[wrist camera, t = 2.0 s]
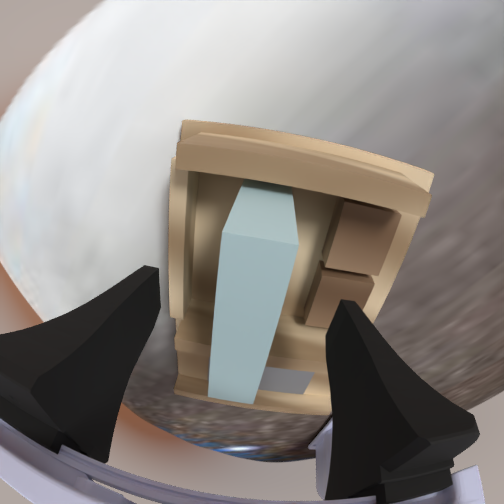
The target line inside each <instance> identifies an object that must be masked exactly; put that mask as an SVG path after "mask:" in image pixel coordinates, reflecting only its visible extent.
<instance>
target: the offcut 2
mask: <svg viewBox="0 0 504 504" xmlns="http://www.w3.org/2000/svg"><path fill="white" fill-rule="evenodd" d="M374 285H375V283H374V281H373V278H372V276H371V275H368V274H362V273H356V272H350V271H344V270H339V269H333V268H327V267H325V265H324V261H322V260H319V262H318V265H317V269H316V272H315V275H314V278H313V281H312V285H311V288H310V291H309V294H308V297H307V300H306V303H305V306H304V318H305V325H308V326H316V327H324V328H329V326H330V324H331V321H332V319H333V317H334V314H335V312H336V310H337V307H338V305H339V302H340V300H341V299H344V300H351V301H355V302H356V303H357V304H358V305H359V307H360V308H361V309H362V310H363V309H364V307H365V305H366V303H367V301H368V298H369V296H370V294H371V292H372V290H373V287H374Z"/></svg>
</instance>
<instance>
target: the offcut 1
mask: <svg viewBox="0 0 504 504" xmlns="http://www.w3.org/2000/svg"><path fill="white" fill-rule="evenodd" d="M401 216H402V215H401V214H400V213H399V212H398V211H397V210H394V209H390V208H386V207H382V206H378V205H374V204H370V203H366V202H362V201H358V200H353V199H349V198H345V197H340V196H337V199H336V203H335V207H334V210H333V214H332V218H331V221H330V225H329V228H328V232H327V235H326V239H325V242H324V246H323V249H322V256H323V261H324V265H325V267H327V268H333V269H339V270H344V271H350V272H356V273H362V274H368V275H374V276H379V273H380V271H381V269H382V266H383V264H384V261H385V259H386V256H387V254H388V251H389V249H390V246H391V244H392V241H393V238H394V236H395V233H396V230H397V227H398V225H399V222H400V219H401Z"/></svg>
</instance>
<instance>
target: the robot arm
mask: <svg viewBox="0 0 504 504" xmlns="http://www.w3.org/2000/svg"><path fill="white" fill-rule="evenodd" d="M160 308H161V303H160V286H159V268H156V267H151V266H146V265H144V266H143V267H141V268H140V269H138V270H137V271H135V272H134V273H132V274H131V275H129V276H128V277H126V278H125V279H123V280H122V281H120V282H119V283H117V284H116V285H114V286H113V287H112V288H110V289H109V290H107V291H105V292H104V293H102V294H100V295H99V296H97V297H96V298H94V299H92V300H91V301H89V302H87V303H86V304H84V305H82V306H80V307H78V308H76V309H74V310H72V311H70V312H68V313H66V314H64V315H62V316H59V317H57V318H54V319H52V320H49V321H47V322H44V323H42V324H39V325H36V326H33V327H29V328H26V329H23V330H19V331H15V332H10V333H5V334H0V478H1V479H2V480H4V481H5V482H6V483H7V484H8V485H10V486H11V487H12V488H13V489H15V490H16V491H17V492H18V493H20V494H21V495H22V496H24V497H25V498H26V499H28V500H29V501H30V502H32V503H34V504H136V503H134V502H132V501H129V500H128V499H126V498H124V496H123V495H122V494H119V493H117V492H114V491H112V490H110V489H108V488H105V487H103V486H101V485H99V484H97V483H95V482H94V481H93V480H96V481H98V482H100V483H103V484H105V485H108V486H110V487H113V488H115V489H118V490H121V491H124V492H126V493H129V494H132V495H135V496H138V497H141V498H145V499H148V500H151V501H155V502H158V503H162V504H485V499H484V494H483V488H482V483H481V479H480V474H479V470H478V466H477V465H474V466H471V467H468V468H466V469H463V470H460V471H458V472H455V473H453V474H451V472H450V468H452V467H454V461H453V458H454V457H456V456H457V455H458V454H460V453H461V452H463V451H464V450H466V449H467V448H468V447H470V446H471V445H472V444H473V443H474V442H475V441H476V440H477V439H478V437H479V435H480V433H479V430H478V427H477V423H476V420H475V418H474V415H473V414H471V413H469V412H467V411H466V410H464V409H462V408H461V407H459V406H457V405H455V404H454V403H452V402H451V401H449V400H448V399H447V398H445V397H444V396H442V395H441V394H440V393H438V392H437V391H436V390H434V389H433V388H432V387H431V386H430V385H428V384H427V383H426V382H425V381H424V380H422V379H421V378H420V377H419V376H418V375H417V374H416V373H415V372H414V371H413V370H412V369H411V368H410V367H409V366H408V365H407V364H406V363H405V362H404V361H403V360H402V359H401V358H400V357H399V356H398V355H397V353H396V352H395V351H394V350H393V349H392V348H391V346H390V345H389V344H388V343H387V342H386V340H385V339H384V338H383V337H382V335H381V334H380V333H379V331H378V330H377V329H376V328H375V326H374V325H373V324H372V322H371V321H370V320H369V318H368V317H367V316H366V314H365V313H364V312H363V310H362V309H361V308H360V307H359V305H358V304H357V303H356V302H355V301H351V300H344V299H341V300H340V302H339V305H338V307H337V310H336V312H335V314H334V317H333V319H332V321H331V324H330V326H329V328H328V330H327V333H326V335H325V350H326V364H327V371H328V378H329V386H330V393H331V401H332V418H331V419H330V421H329V422H328V423H327V424H326V426H325V427H324V428H323V429H322V430H321V432H320V433H319V434H318V435H317V436H316V438H315V439H314V440H313V441H312V442H311V443H310V444H309V446H308V448H309V449H316V488H317V492H318V494H319V496H320V497H321V498H322V499H323V500H324V501H271V500H256V499H246V498H236V497H228V496H222V495H215V494H209V493H204V492H199V491H193V490H189V489H184V488H180V487H176V486H172V485H168V484H164V483H160V482H157V481H153V480H150V479H146V478H143V477H140V476H137V475H134V474H131V473H128V472H125V471H122V470H119V469H117V468H114V467H112V466H109V465H106V464H104V463H106V462H108V458H109V452H110V447H111V442H112V437H113V432H114V428H115V424H116V420H117V416H118V412H119V409H120V405H121V402H122V398H123V395H124V392H125V389H126V386H127V383H128V380H129V378H130V375H131V373H132V370H133V368H134V366H135V364H136V362H137V360H138V358H139V356H140V354H141V352H142V350H143V348H144V346H145V344H146V342H147V340H148V338H149V336H150V334H151V332H152V330H153V328H154V325H155V323H156V320H157V317H158V314H159V311H160ZM92 479H93V480H92Z"/></svg>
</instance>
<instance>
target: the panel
mask: <svg viewBox="0 0 504 504" xmlns="http://www.w3.org/2000/svg"><path fill="white" fill-rule="evenodd" d="M298 247H299V241H298V233H297V225H296V216H295V209H294V201H293V194H292V186H286V185H281V184H275V183H270V182H264V181H258V180H252V179H246V178H245V179H244V181H243V183H242V186H241V188H240V190H239V193H238V195H237V198H236V200H235V202H234V205H233V207H232V209H231V212H230V214H229V217H228V219H227V221H226V224H225V226H224V229H223V231H222V238H221V247H220V256H219V266H218V276H217V287H216V297H215V308H214V320H213V332H212V344H211V357H210V371H209V386H208V397H211V398H217V399H222V400H228V401H234V402H240V403H247V404H253V403H254V400H255V397H256V393H257V390H258V387H259V384H260V381H261V378H262V374H263V371H264V368H265V365H266V361H267V358H268V355H269V352H270V348H271V345H272V341H273V338H274V335H275V331H276V328H277V324H278V321H279V317H280V314H281V310H282V307H283V303H284V300H285V296H286V292H287V289H288V285H289V281H290V278H291V274H292V270H293V266H294V262H295V259H296V255H297V251H298Z"/></svg>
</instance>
